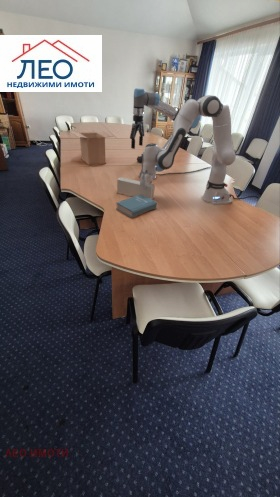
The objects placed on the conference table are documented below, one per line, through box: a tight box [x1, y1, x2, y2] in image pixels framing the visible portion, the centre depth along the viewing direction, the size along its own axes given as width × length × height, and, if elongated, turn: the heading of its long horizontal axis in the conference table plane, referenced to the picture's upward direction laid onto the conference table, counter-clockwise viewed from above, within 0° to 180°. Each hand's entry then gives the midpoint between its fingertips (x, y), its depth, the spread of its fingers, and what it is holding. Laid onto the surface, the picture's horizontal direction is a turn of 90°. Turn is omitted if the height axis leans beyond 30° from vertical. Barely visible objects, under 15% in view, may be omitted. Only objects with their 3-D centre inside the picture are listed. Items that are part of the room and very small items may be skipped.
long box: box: [116, 177, 156, 200], centre depth 167 cm, size 28×6×11 cm, turn 66°
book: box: [115, 195, 158, 219], centre depth 150 cm, size 23×16×5 cm
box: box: [70, 129, 114, 166], centre depth 229 cm, size 44×36×27 cm
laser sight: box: [136, 153, 143, 164], centre depth 240 cm, size 10×22×10 cm, turn 78°
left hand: (136, 147), depth 171 cm, fingers open, 13 cm apart
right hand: (147, 187), depth 163 cm, fingers open, 8 cm apart
